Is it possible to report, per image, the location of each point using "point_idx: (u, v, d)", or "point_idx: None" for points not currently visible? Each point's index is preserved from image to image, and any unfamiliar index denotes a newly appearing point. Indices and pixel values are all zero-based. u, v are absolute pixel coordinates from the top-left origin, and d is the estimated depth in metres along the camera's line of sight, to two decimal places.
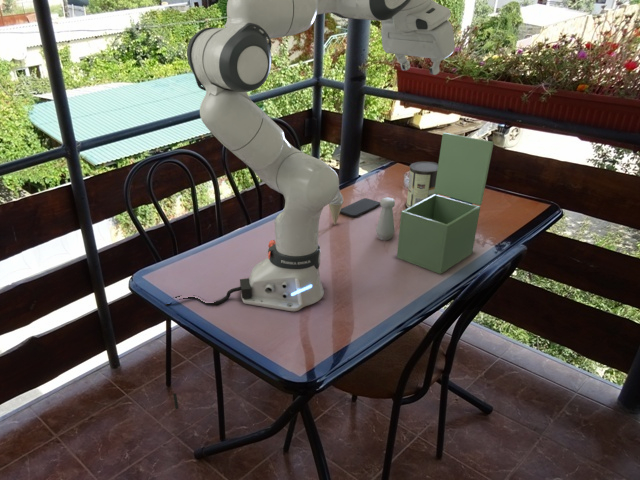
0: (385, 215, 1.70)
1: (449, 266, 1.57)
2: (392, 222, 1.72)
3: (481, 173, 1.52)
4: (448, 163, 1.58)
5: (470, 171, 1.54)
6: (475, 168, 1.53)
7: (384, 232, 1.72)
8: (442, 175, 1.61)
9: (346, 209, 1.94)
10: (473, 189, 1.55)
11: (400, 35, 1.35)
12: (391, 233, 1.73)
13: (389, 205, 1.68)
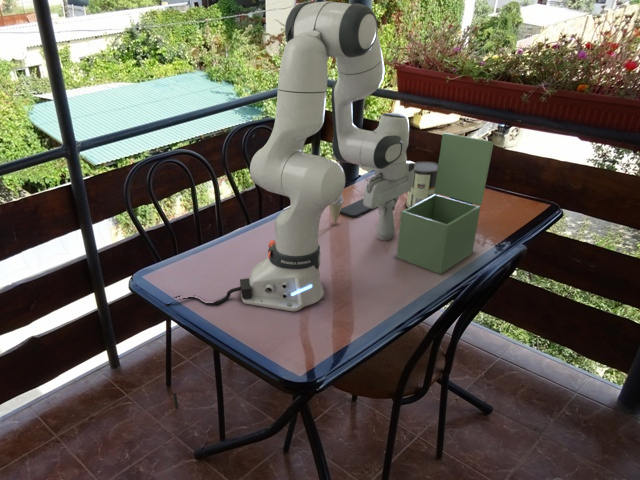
0: (385, 215, 1.70)
1: (449, 266, 1.57)
2: (392, 222, 1.72)
3: (481, 173, 1.52)
4: (448, 163, 1.58)
5: (470, 171, 1.54)
6: (475, 168, 1.53)
7: (384, 232, 1.72)
8: (442, 175, 1.61)
9: (346, 209, 1.94)
10: (473, 189, 1.55)
11: (386, 187, 1.64)
12: (391, 233, 1.73)
13: (388, 205, 1.68)
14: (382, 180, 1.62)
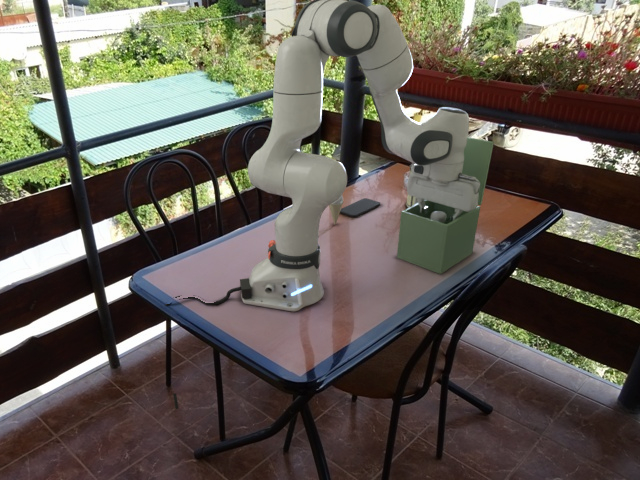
0: None
1: (449, 266, 1.57)
2: None
3: (481, 173, 1.52)
4: None
5: (470, 171, 1.54)
6: (475, 168, 1.53)
7: None
8: None
9: (346, 209, 1.94)
10: None
11: None
12: None
13: None
14: None
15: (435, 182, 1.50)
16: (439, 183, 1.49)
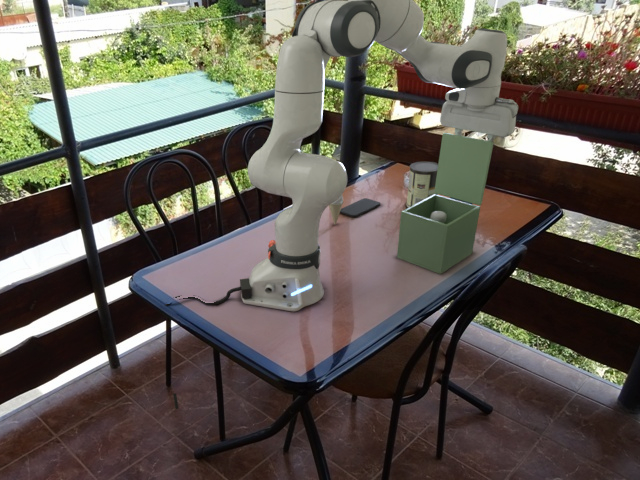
0: None
1: (449, 266, 1.57)
2: None
3: (481, 173, 1.52)
4: (448, 163, 1.58)
5: (470, 171, 1.54)
6: (475, 168, 1.53)
7: None
8: (442, 175, 1.61)
9: (346, 209, 1.94)
10: (473, 189, 1.55)
11: None
12: None
13: None
14: None
15: (471, 108, 1.48)
16: (475, 109, 1.47)
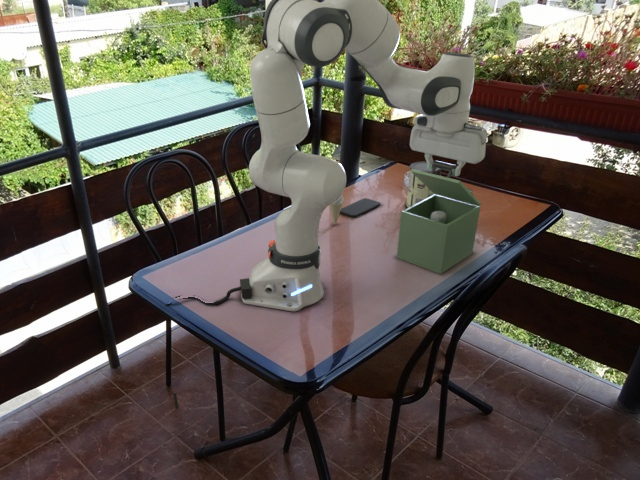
0: None
1: (449, 266, 1.57)
2: None
3: (465, 194, 1.50)
4: (431, 184, 1.56)
5: (454, 191, 1.52)
6: (457, 191, 1.51)
7: None
8: (432, 188, 1.60)
9: (346, 209, 1.94)
10: (466, 199, 1.55)
11: None
12: None
13: None
14: None
15: (439, 134, 1.43)
16: (444, 134, 1.42)
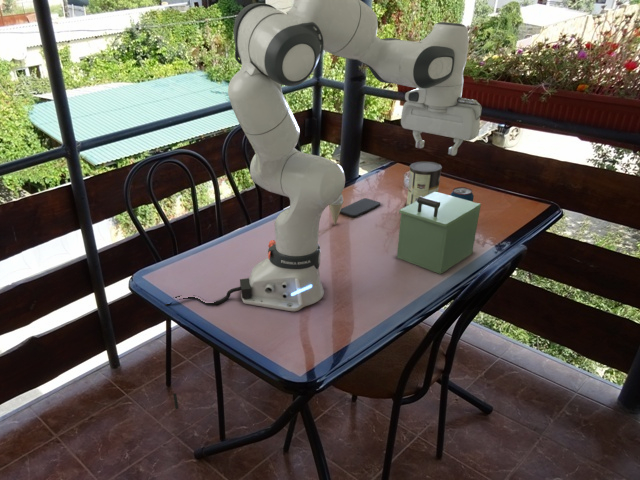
0: None
1: (449, 266, 1.57)
2: None
3: None
4: None
5: None
6: None
7: None
8: None
9: (346, 209, 1.94)
10: None
11: None
12: None
13: None
14: None
15: (432, 109, 1.36)
16: (436, 110, 1.35)
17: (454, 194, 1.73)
